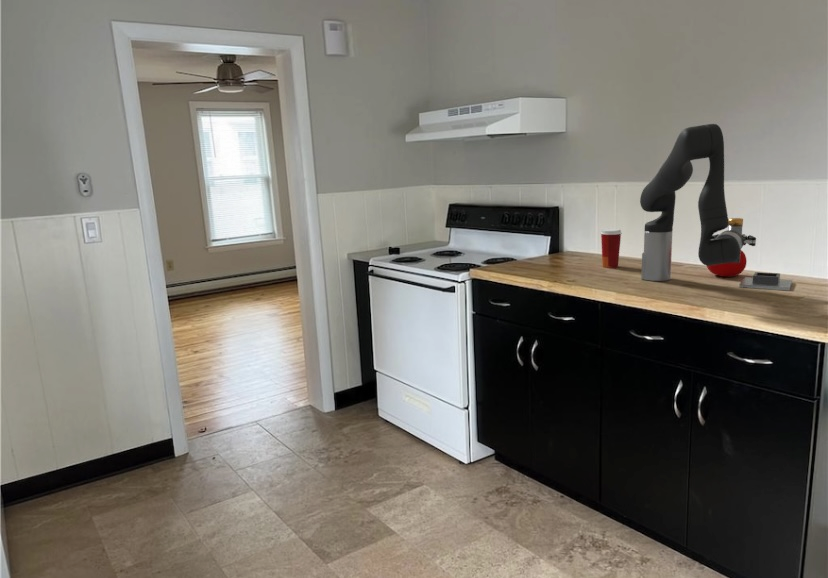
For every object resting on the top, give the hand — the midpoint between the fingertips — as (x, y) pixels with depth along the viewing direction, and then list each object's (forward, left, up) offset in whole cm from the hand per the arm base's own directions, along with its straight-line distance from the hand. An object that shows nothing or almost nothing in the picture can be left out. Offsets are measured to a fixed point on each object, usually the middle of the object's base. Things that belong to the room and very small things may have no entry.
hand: (735, 237), depth 198 cm
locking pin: (0, -3, -8) cm, 8 cm away
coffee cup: (-48, +25, -17) cm, 57 cm away
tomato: (-5, +19, -17) cm, 26 cm away
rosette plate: (+9, +6, -16) cm, 20 cm away
